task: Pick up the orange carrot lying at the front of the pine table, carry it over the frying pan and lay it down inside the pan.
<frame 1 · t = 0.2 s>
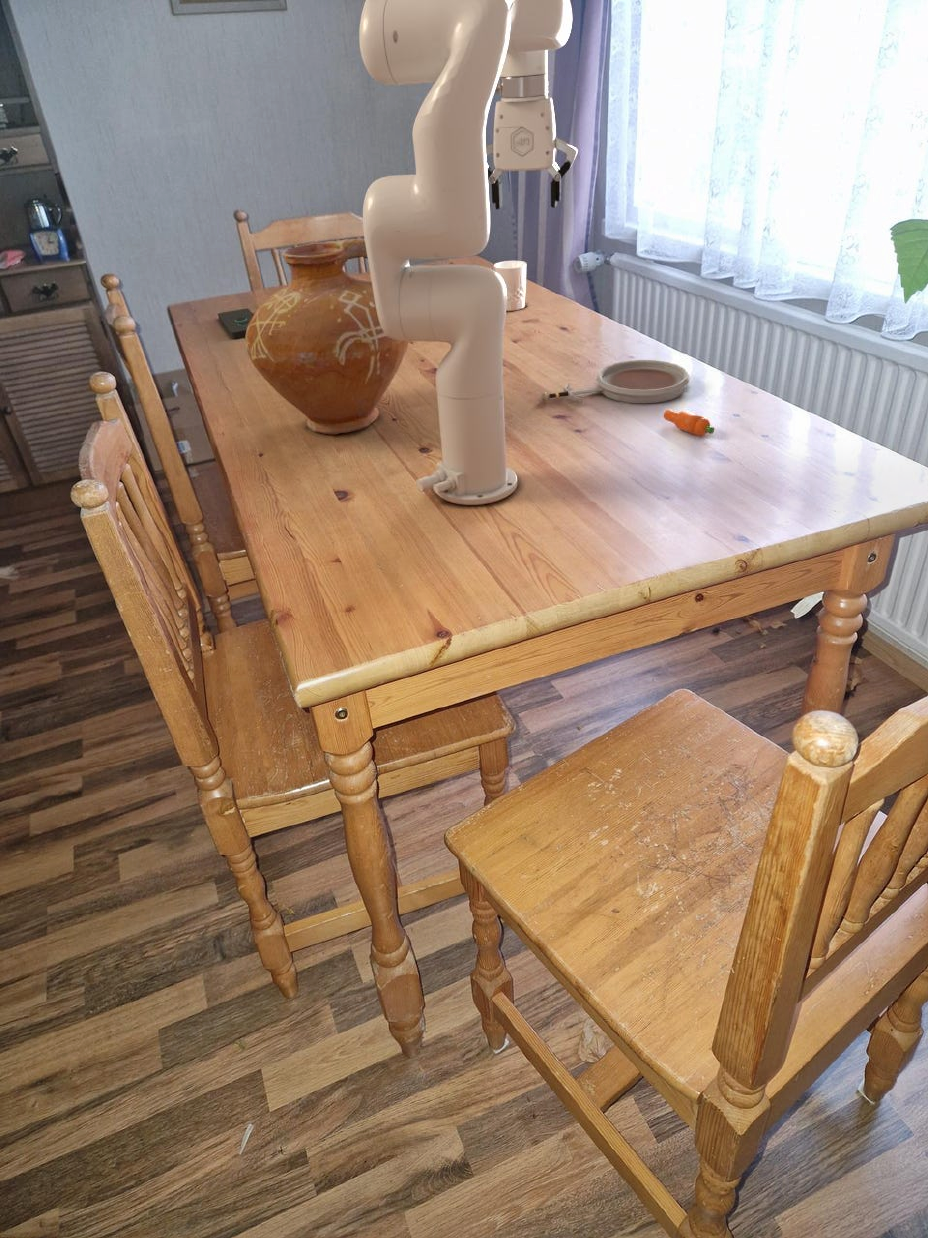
hand: (526, 206, 140), 31 cm above the table, tool pointing down, fingers open, 9 cm apart
frying pan: (614, 392, 151), on the table
carrot: (686, 430, 135), on the table
white cup: (511, 307, 201), on the table
smart home device: (241, 326, 203), on the table
jug: (343, 422, 148), on the table
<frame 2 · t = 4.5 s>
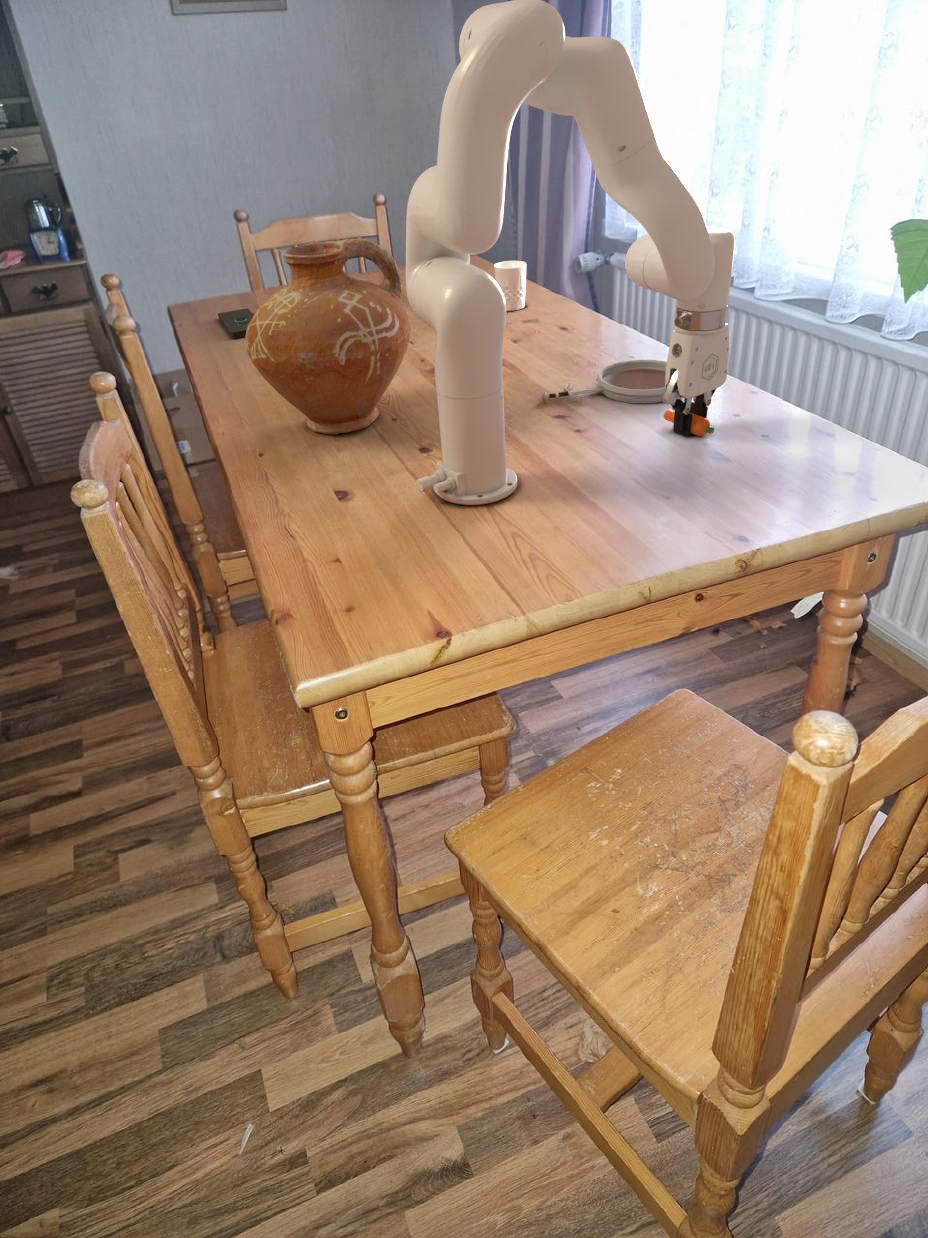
hand: (689, 429, 134), 0 cm above the table, tool pointing down, fingers closed on carrot, 3 cm apart
carrot: (686, 430, 135), on the table, touching gripper
everything else where it was.
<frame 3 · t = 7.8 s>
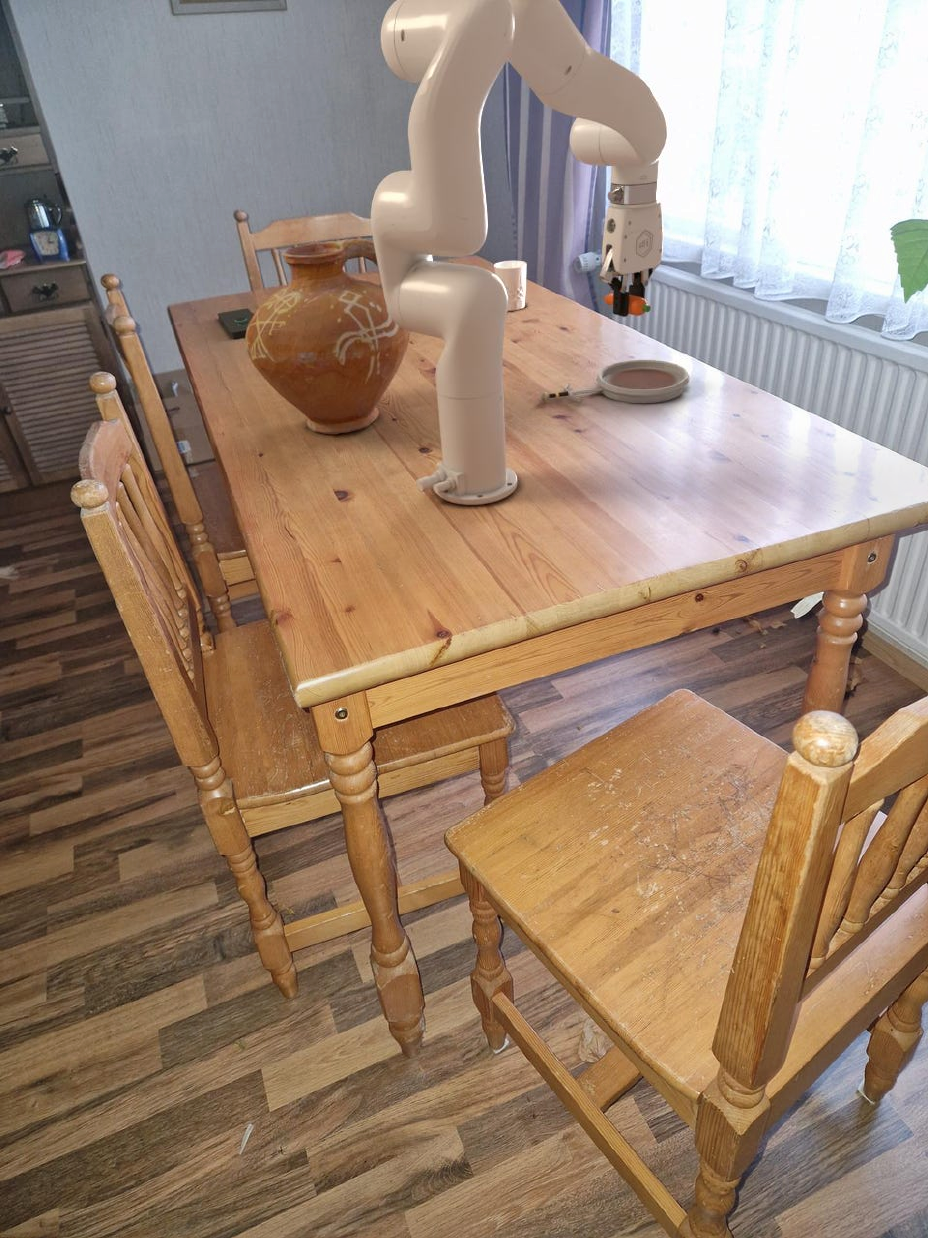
hand: (628, 311, 140), 15 cm above the table, tool pointing down, fingers closed on carrot, 3 cm apart
carrot: (626, 312, 140), point 15 cm above the table, touching gripper
everything else where it was.
when the fingers open (3 cm above the table, at t = 11.1 s): carrot stays where it is, resting on frying pan.
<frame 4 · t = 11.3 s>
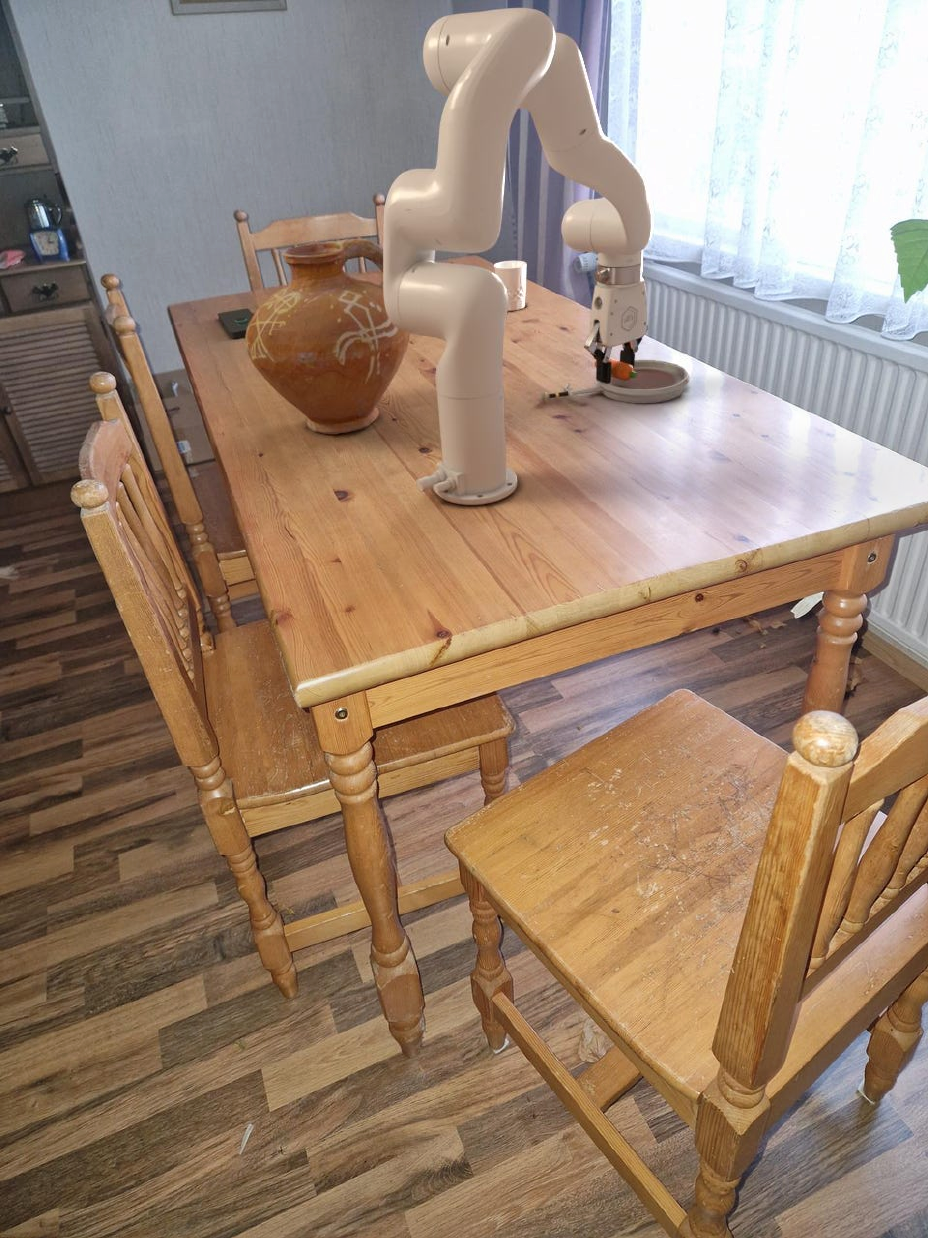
hand: (615, 376, 149), 3 cm above the table, tool pointing down, fingers open, 5 cm apart
frying pan: (614, 392, 151), on the table, touching carrot
carrot: (613, 376, 150), point 3 cm above the table, tilted 13°, touching frying pan
everything else where it was.
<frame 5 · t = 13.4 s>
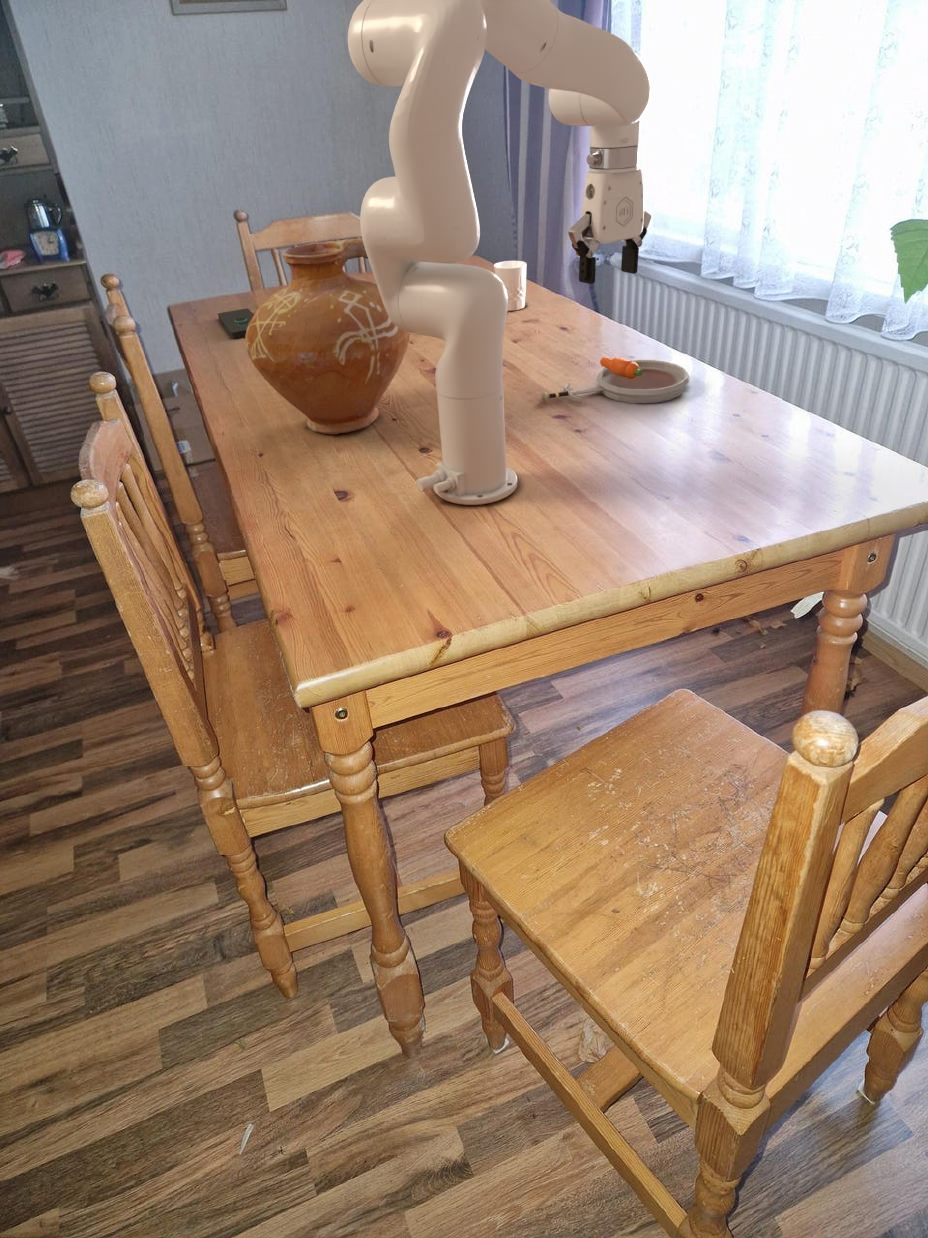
hand: (608, 277, 134), 22 cm above the table, tool pointing down, fingers open, 9 cm apart
carrot: (614, 371, 149), point 4 cm above the table, tilted 67°, touching frying pan
everything else where it was.
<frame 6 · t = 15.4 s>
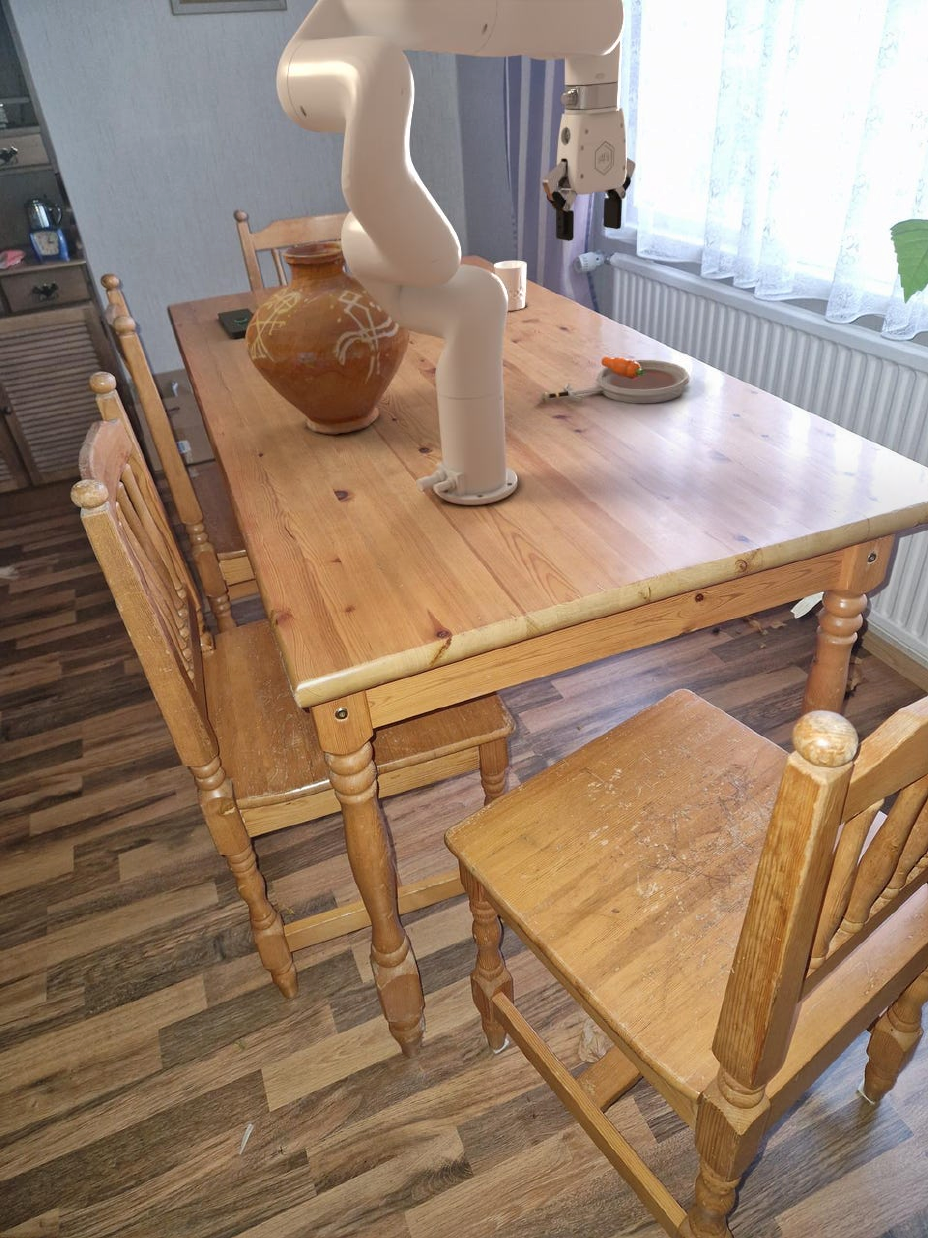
hand: (588, 233, 122), 30 cm above the table, tool pointing down, fingers open, 9 cm apart
carrot: (615, 369, 149), point 4 cm above the table, tilted 80°, touching frying pan
everything else where it was.
at the end: carrot inside the target area on the frying pan (0.9 cm from its centre), point 4.2 cm above the frying pan's base; carrot touching frying pan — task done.
